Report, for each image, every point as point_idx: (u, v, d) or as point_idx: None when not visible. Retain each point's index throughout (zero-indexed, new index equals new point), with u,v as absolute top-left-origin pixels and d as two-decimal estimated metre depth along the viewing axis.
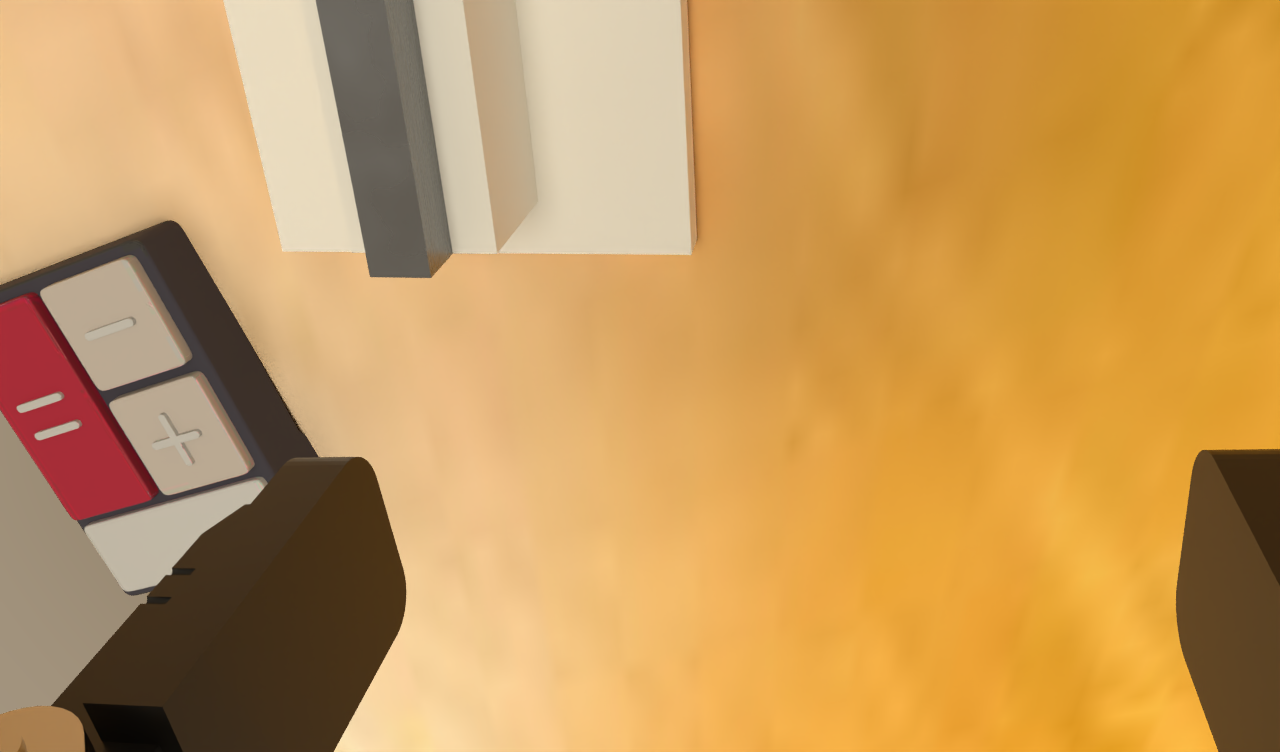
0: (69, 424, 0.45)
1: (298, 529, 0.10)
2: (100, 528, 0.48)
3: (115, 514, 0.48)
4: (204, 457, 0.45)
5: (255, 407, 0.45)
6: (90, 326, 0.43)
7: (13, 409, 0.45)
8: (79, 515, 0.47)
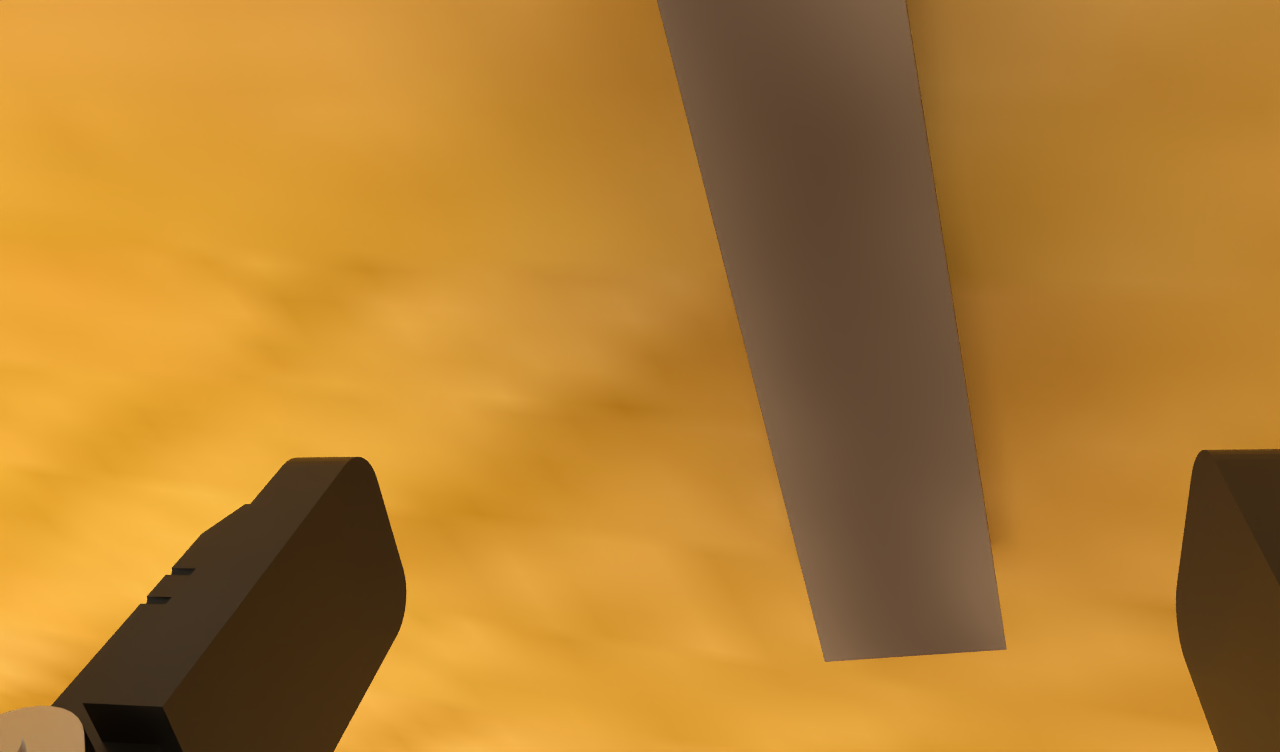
0: None
1: (298, 529, 0.10)
2: None
3: None
4: None
5: None
6: None
7: None
8: None
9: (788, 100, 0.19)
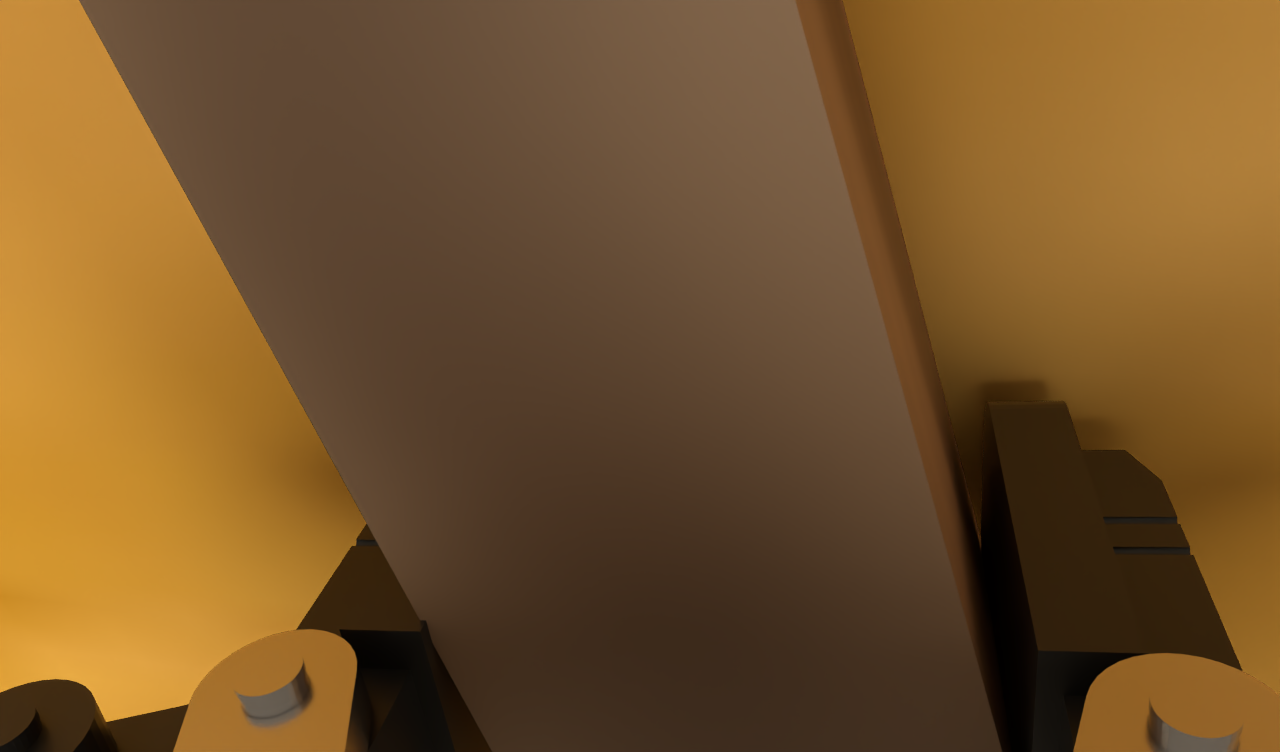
0: None
1: None
2: None
3: None
4: None
5: None
6: None
7: None
8: None
9: (617, 541, 0.08)
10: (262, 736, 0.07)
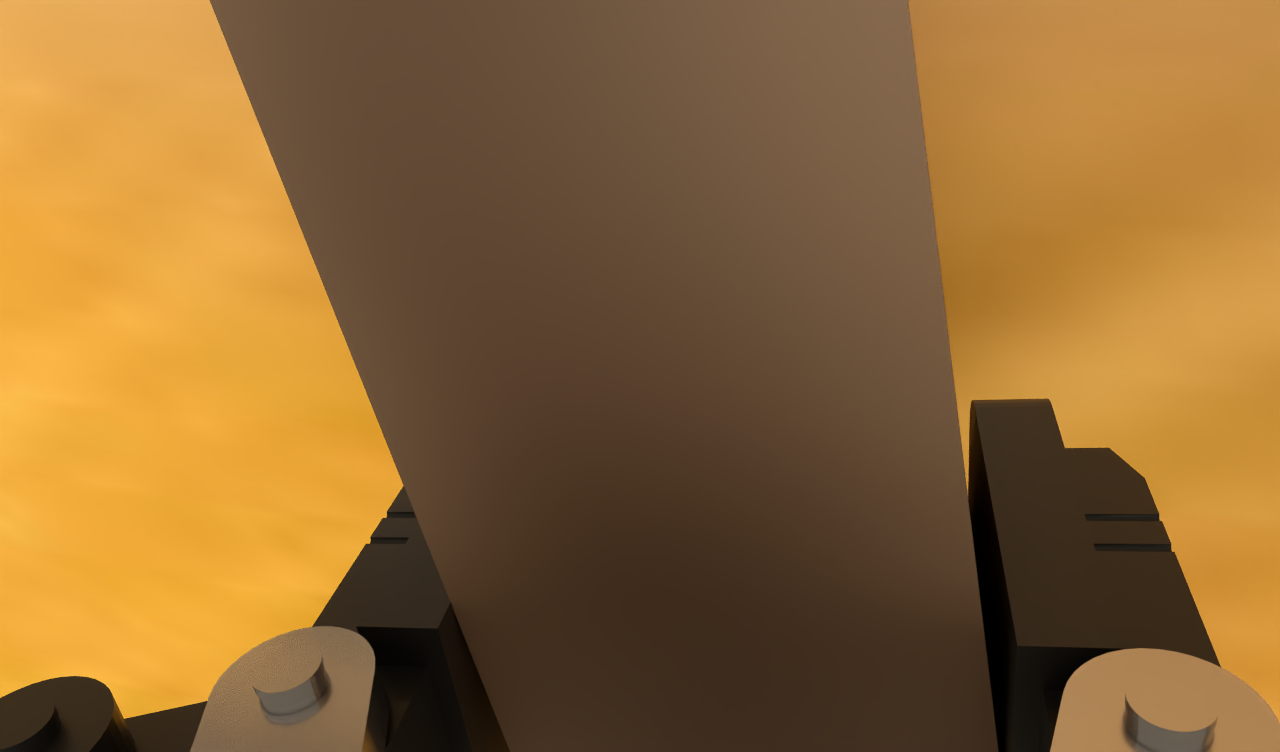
0: None
1: None
2: None
3: None
4: None
5: None
6: None
7: None
8: None
9: (653, 522, 0.08)
10: (282, 733, 0.07)
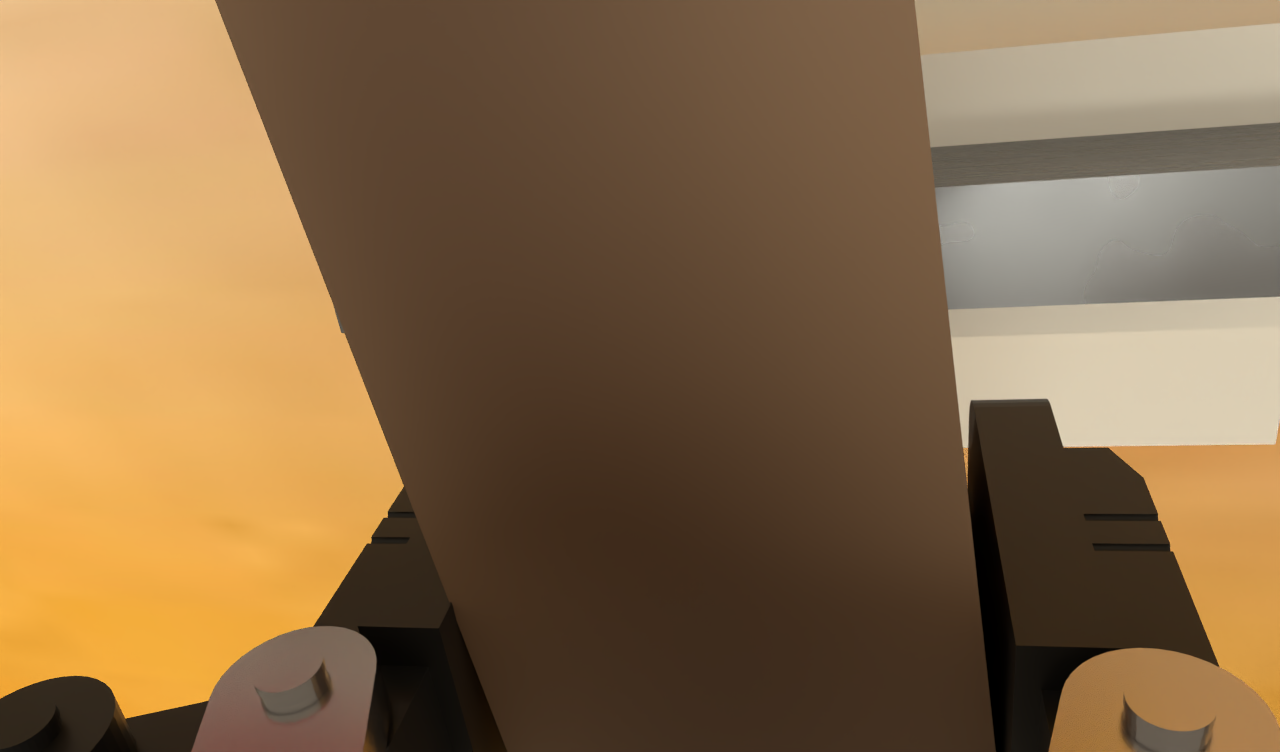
0: None
1: None
2: None
3: None
4: None
5: None
6: None
7: None
8: None
9: (653, 521, 0.08)
10: (283, 733, 0.07)
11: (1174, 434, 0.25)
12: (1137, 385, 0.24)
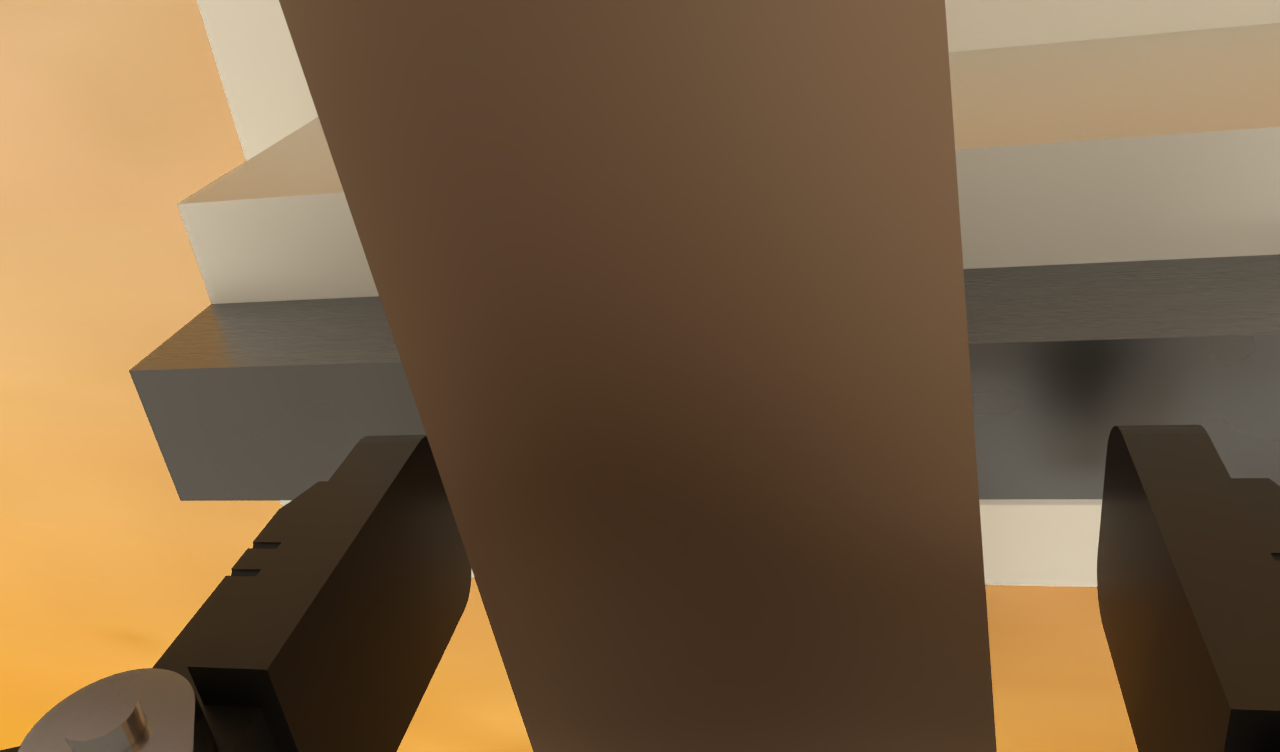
0: None
1: (379, 503, 0.10)
2: None
3: None
4: None
5: None
6: None
7: None
8: None
9: (674, 497, 0.08)
10: None
11: None
12: None
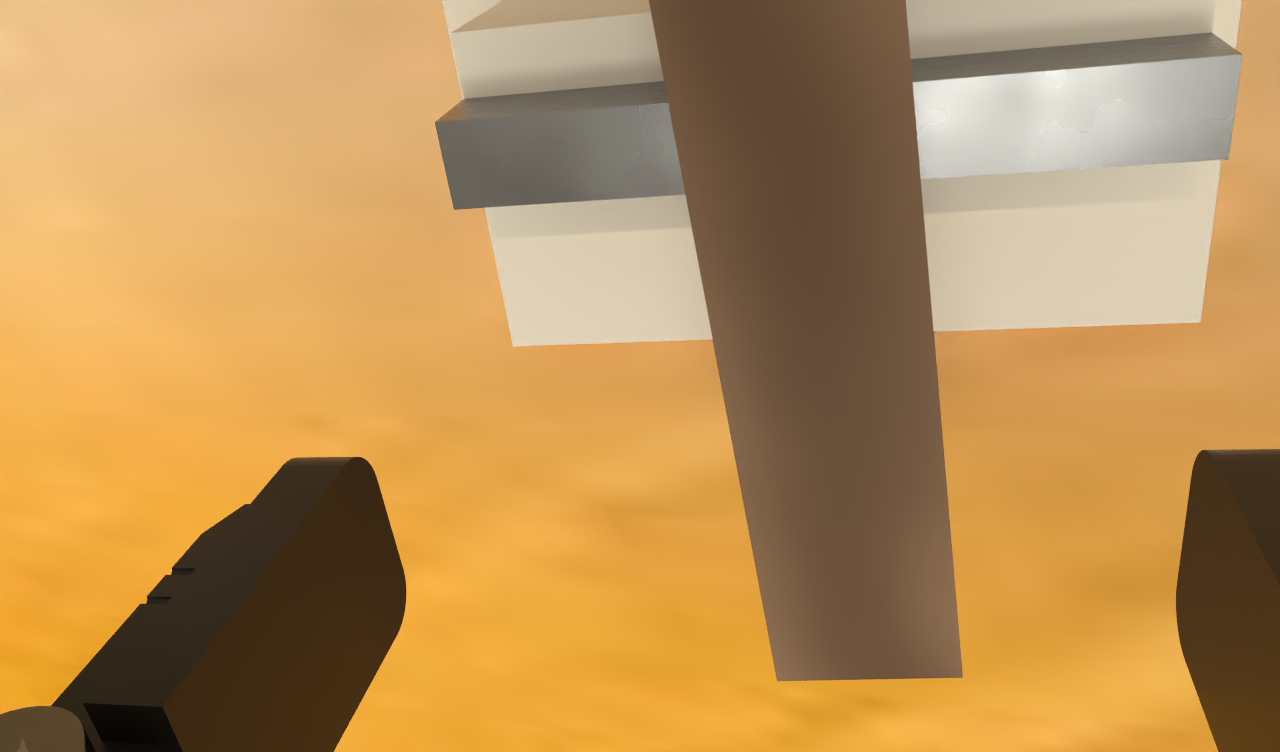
0: None
1: (298, 529, 0.10)
2: None
3: None
4: None
5: None
6: None
7: None
8: None
9: (777, 101, 0.18)
10: None
11: (1118, 315, 0.30)
12: (1087, 273, 0.29)
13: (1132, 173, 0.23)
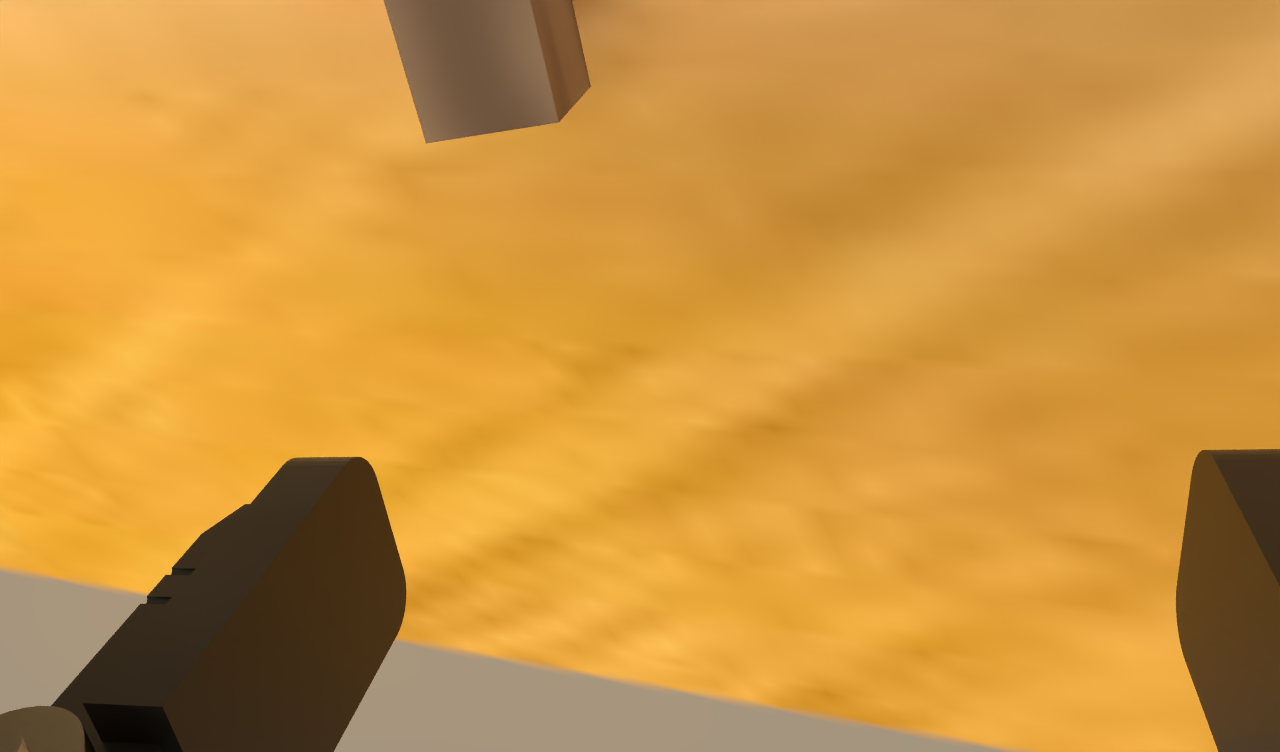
0: None
1: (298, 529, 0.10)
2: None
3: None
4: None
5: None
6: None
7: None
8: None
9: None
10: None
11: None
12: None
13: None
